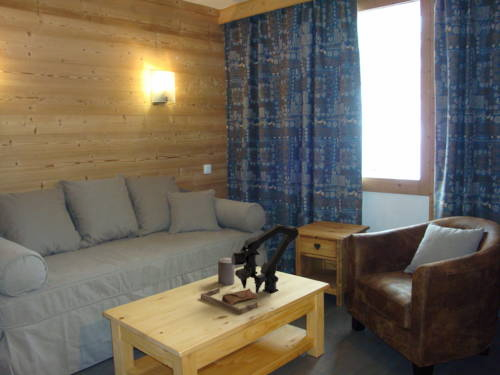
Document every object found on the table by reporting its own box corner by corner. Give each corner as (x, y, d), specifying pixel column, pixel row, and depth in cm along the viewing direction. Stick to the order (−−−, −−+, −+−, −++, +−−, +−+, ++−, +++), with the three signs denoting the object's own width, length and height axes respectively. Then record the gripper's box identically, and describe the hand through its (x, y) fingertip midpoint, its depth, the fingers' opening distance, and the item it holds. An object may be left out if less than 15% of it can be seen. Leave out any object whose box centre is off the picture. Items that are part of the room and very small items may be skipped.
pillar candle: (214, 283, 266) (214, 258, 263) (225, 278, 274) (225, 254, 271) (227, 286, 260) (228, 261, 258) (238, 281, 268) (238, 257, 266)
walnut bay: (218, 291, 252) (218, 287, 252) (257, 306, 232) (257, 302, 232) (200, 298, 243) (200, 294, 243) (240, 314, 223) (240, 309, 223)
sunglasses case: (230, 305, 234) (227, 293, 235) (224, 308, 239) (220, 296, 241) (258, 298, 244) (255, 285, 246) (252, 300, 249) (248, 288, 251)
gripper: (228, 262, 248) (228, 290, 250) (253, 270, 235) (253, 299, 238) (242, 258, 256) (242, 284, 258) (267, 265, 243) (267, 293, 246)
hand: (250, 290), depth 250 cm, fingers open, 9 cm apart
